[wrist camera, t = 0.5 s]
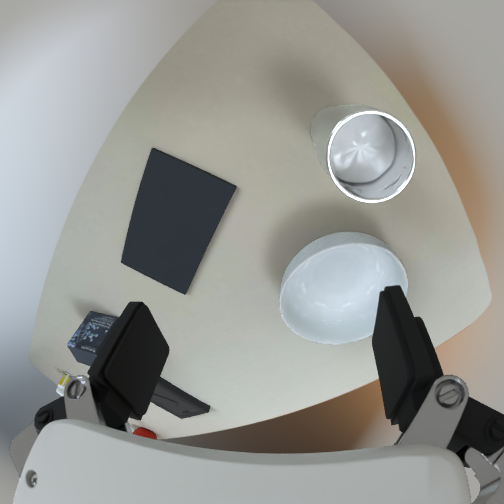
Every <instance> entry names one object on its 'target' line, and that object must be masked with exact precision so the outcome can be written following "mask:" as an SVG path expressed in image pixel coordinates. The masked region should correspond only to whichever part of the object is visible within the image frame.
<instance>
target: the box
mask: <svg viewBox="0 0 504 504" xmlns="http://www.w3.org/2000/svg"><path fill="white" fill-rule="evenodd" d="M118 319H119V318H118V317H113V316H109V315H104V314H100V313H96V312H92V311H90V312H89V314H88V315H87V317H86V318H85V319H84V321H83V322H82V324H81V325H80V326H79V328H78V329H77V331H76V332H75V334H74V335H73V337H72V338H71V339H70V341H69V342H68V344H67V346H68V348H69V349H70V351H71V352H72V354H73V356H74V357H75V359H76V360H77V362H79V363H83V364H86V365H88V366H91V365H92V363H93V361H94V360H95V358H96V356H97V354H98V353H99V351H100V349H101V347H102V346H103V344H104V342H105V341H106V339H107V337H108V336H109V334H110V332H111V330H112V329H113V327H114V326H115V324H116V322H117V321H118Z"/></svg>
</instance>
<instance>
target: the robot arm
mask: <svg viewBox="0 0 504 504" xmlns="http://www.w3.org/2000/svg"><path fill="white" fill-rule="evenodd" d="M372 346H373V351H374V356H375V360H376V365H377V370H378V375H379V380H380V386H381V391H382V396H383V402H384V409H385V415H386V418H387V419H391V425H396V424H399V430H400V431H401V432H402V433H401V434H400V436H399V437H398V439H397V440H396V442H395V443H394V445H392V446H384V447H375V448H367V449H358V450H349V451H340V452H339V451H338V452H325V453H306V454H262V453H244V452H243V453H242V452H232V451H221V450H213V449H212V450H211V449H205V448H198V447H191V446H185V445H180V444H174V443H169V442H164V441H160V440H155V439H151V438H146V437H142V436H138V435H135V434H133V433H132V431H131V428H130V426H129V423H128V418H129V417H130V418H132V419H136V420H141V419H142V416H143V415H144V414H145V413H146V412H147V409H148V406H149V404H150V401H151V398H152V396H153V393H154V390H155V388H156V385H157V383H158V380H159V377H160V375H161V372H162V370H163V367H164V365H165V362H166V360H167V357H168V354H169V346H168V344H167V342H166V340H165V338H164V337H163V335H162V333H161V331H160V329H159V327H158V326H157V324H156V322H155V320H154V318H153V316H152V314H151V312H150V310H149V308H148V307H147V306H146V305H145V304H144V303H143V302H129V303H128V305H127V306H126V308H125V309H124V311H123V313H122V314H121V316H120V317H119V319H118V321H117V322H116V324H115V326H114V327H113V329H112V330H111V332H110V334H109V336H108V337H107V339H106V341H105V342H104V344H103V346H102V347H101V349H100V351H99V353H98V354H97V356H96V358H95V360H94V361H93V363H92V365H91V367H90V369H89V370H88V372H87V373H88V374H89V375H90V377H89V379H88V378H87V377H86V376H84V375H78V376H75V377H73V378H71V379H70V380H69V381H68V383H67V384H66V386H65V389H64V396H62V397H60V398H59V399H57V400H55V401H53V402H51V403H49V404H47V405H45V406H43V407H42V408H40V409H39V411H38V412H37V414H36V415H35V423H33V422H31V423H30V424H29V425H28V426H27V427H26V428H25V429H24V430H23V431H22V432H21V433H20V434H18V435H17V436H16V437H15V438H14V439H13V441H12V442H11V444H10V447H9V451H10V455H11V458H12V460H13V463H14V465H15V467H16V470H17V472H18V474H19V476H20V480H19V483H18V486H17V489H16V493H15V496H14V500H13V504H471V496H470V489H469V484H468V479H467V475H466V472H465V469H464V467H467V468H470V467H471V468H472V469H473V471H474V472H475V473H476V474H475V477H476V478H477V479H478V481H479V483H480V492H479V495H478V497H477V498H476V500H475V501H474V502H473V503H472V504H504V414H502V413H500V412H498V411H496V410H494V409H492V408H490V407H488V406H486V405H484V404H482V403H480V402H478V401H476V400H474V399H473V398H471V397H469V393H468V388H467V386H466V383H465V382H464V381H463V380H462V379H461V378H459V377H457V376H454V375H445V376H444V375H443V372H442V369H441V366H440V363H439V360H438V358H437V355H436V352H435V349H434V347H433V344H432V342H431V339H430V337H429V334H428V332H427V329H426V327H425V324H424V322H423V320H422V318H420V317H414V316H413V313H412V311H411V308H410V306H409V304H408V301H407V299H406V297H405V295H404V292H403V290H402V288H401V286H400V285H394V286H386V287H385V288H384V291H380V294H379V301H378V308H377V314H376V320H375V326H374V332H373V337H372Z"/></svg>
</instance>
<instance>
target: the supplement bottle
mask: <svg viewBox="0 0 504 504" xmlns="http://www.w3.org/2000/svg"><path fill="white" fill-rule="evenodd" d="M71 378H73V376H72V375H70V374H69V373H66V372H65V373H64V375H63V377H62V378H61V380H60V382H59V384H58V388H57V390H56V391H57V393H58V394H60V395H61V396H64V389H65V386H66V384H67V383H68V381H69V380H70V379H71Z"/></svg>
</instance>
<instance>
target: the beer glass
mask: <svg viewBox="0 0 504 504" xmlns="http://www.w3.org/2000/svg"><path fill="white" fill-rule="evenodd" d="M310 133H311V137H312V140H313V142H314V143H315V149H316V153H317V156H318V159H319V162H320V164H321V166H322V167H323V169H324V171H325V172H326V174H327V175H328V176H329V177H330V179H331V180H332V181H333V183H334V184H335V185H336V187H337V188H338V189H339V190H340V191H341V192H342V193H344V194H345V195H346V196H348V197H350V198H351V199H354V200H356V201H359V202H363V203H380V202H384V201H387V200H389V199H391V198H393V197H395V196H396V195H398V194H399V193H400V192H401V191H402V190H403V189H404V188H405V187H406V186H407V185H408V183H409V182H410V180H411V178H412V176H413V173H414V170H415V166H416V148H415V144H414V141H413V138H412V136H411V134H410V132H409V131H408V129H407V128H406V126H405V125H404V124H403V123H402V122H401V121H400V120H399V119H397V118H396V117H395V116H393V115H391V114H389V113H387V112H384V111H381V110H379V109H377V108H374V107H371V106H367V105H362V104H346V105H342V106H336V105H334V106H328V107H325V108H323V109H321V110H320V111H318V112H317V113H316V114H315V116H314V117H313V119H312V122H311V126H310Z"/></svg>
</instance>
